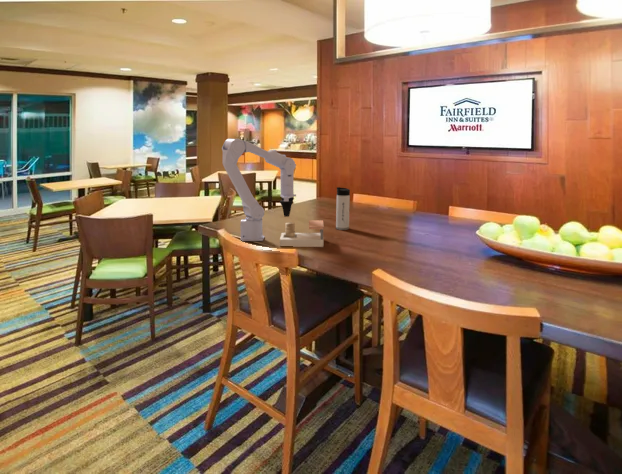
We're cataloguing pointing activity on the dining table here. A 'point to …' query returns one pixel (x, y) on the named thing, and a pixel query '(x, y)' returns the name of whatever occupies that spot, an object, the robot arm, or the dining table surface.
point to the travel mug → (342, 208)
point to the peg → (290, 230)
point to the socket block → (305, 237)
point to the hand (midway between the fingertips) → (287, 214)
